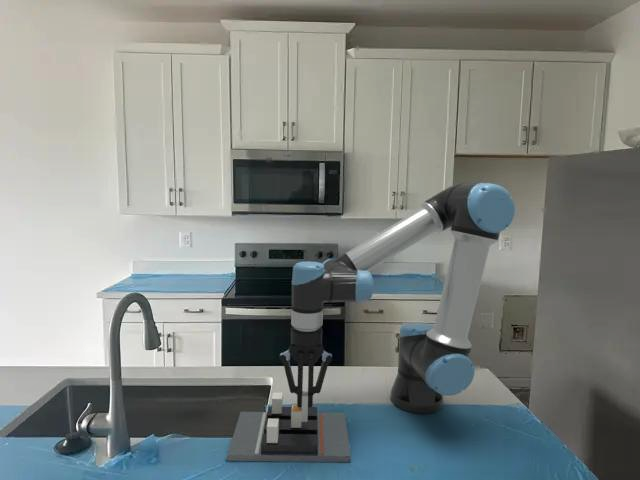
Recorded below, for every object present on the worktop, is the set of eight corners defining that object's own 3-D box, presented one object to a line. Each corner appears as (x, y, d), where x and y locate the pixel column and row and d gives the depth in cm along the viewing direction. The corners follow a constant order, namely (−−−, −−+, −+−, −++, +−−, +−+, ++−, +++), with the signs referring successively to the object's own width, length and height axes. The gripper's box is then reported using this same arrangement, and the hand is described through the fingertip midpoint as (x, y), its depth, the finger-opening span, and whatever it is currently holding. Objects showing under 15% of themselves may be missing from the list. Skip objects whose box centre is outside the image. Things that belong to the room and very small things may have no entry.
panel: (344, 418, 120) (344, 405, 119) (350, 462, 101) (351, 447, 101) (240, 416, 119) (240, 404, 119) (227, 461, 100) (227, 446, 100)
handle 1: (282, 406, 118) (282, 392, 117) (281, 413, 114) (281, 399, 114) (273, 406, 118) (273, 392, 117) (271, 413, 114) (271, 398, 114)
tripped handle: (301, 420, 111) (301, 404, 111) (301, 427, 108) (301, 411, 107) (291, 419, 111) (291, 404, 111) (291, 427, 108) (291, 411, 107)
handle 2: (278, 434, 105) (278, 418, 104) (277, 443, 101) (277, 426, 101) (268, 434, 105) (268, 418, 104) (266, 442, 101) (266, 426, 101)
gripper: (333, 322, 110) (330, 411, 113) (280, 321, 110) (279, 410, 113) (334, 332, 103) (331, 427, 106) (278, 331, 103) (276, 426, 106)
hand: (304, 418), depth 109 cm, fingers closed
